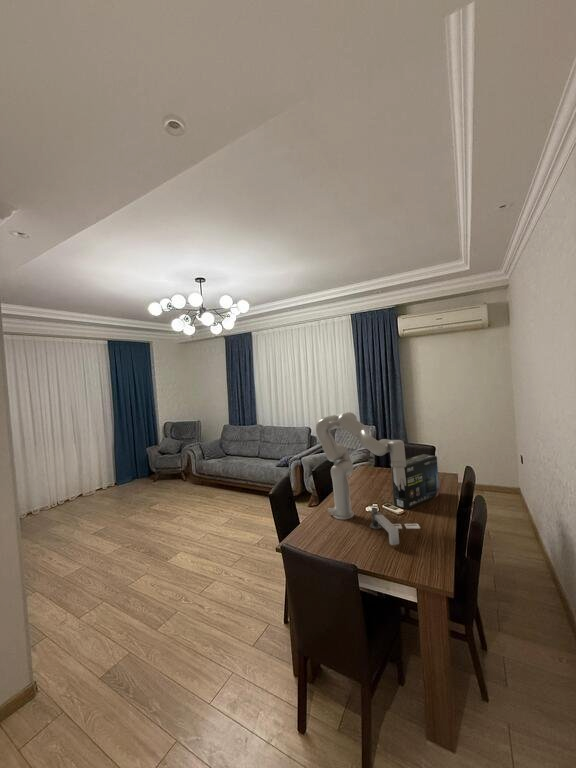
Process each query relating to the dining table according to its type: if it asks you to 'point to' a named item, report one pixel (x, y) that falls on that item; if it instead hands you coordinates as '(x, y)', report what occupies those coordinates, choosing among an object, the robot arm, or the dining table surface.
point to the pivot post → (374, 521)
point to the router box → (418, 481)
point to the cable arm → (387, 527)
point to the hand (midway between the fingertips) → (402, 497)
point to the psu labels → (407, 526)
